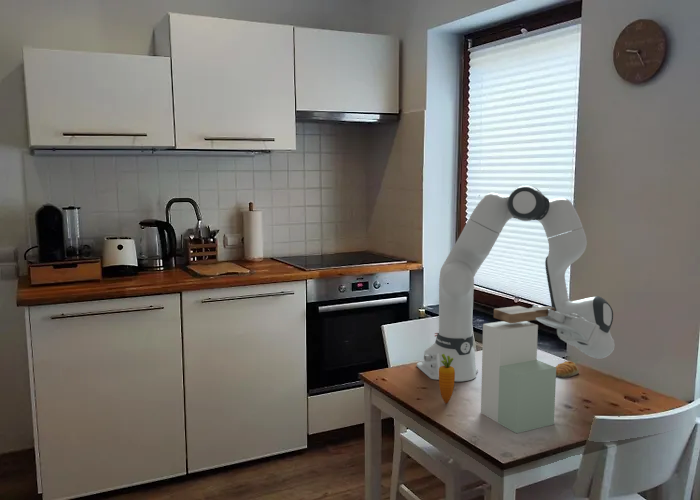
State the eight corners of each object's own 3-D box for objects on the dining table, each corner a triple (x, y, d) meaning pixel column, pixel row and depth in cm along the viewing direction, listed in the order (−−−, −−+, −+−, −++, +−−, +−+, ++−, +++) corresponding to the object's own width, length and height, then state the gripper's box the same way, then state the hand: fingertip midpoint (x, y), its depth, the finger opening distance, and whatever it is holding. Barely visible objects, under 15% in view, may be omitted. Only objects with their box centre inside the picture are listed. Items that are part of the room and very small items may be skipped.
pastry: (567, 380, 198) (567, 369, 198) (548, 375, 203) (548, 364, 202) (580, 373, 205) (580, 362, 204) (561, 369, 209) (561, 358, 209)
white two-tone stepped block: (480, 412, 171) (483, 324, 168) (516, 405, 176) (519, 319, 173) (516, 433, 157) (519, 337, 154) (553, 424, 163) (557, 331, 160)
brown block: (493, 317, 169) (493, 308, 168) (542, 311, 176) (542, 303, 176) (510, 323, 162) (510, 314, 162) (560, 316, 170) (560, 307, 170)
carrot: (457, 405, 176) (458, 356, 174) (442, 407, 175) (443, 358, 173) (450, 399, 181) (451, 351, 179) (434, 401, 179) (435, 353, 177)
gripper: (551, 311, 187) (522, 293, 181) (604, 327, 169) (574, 307, 163) (543, 330, 186) (513, 312, 181) (595, 347, 168) (564, 328, 162)
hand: (542, 310), depth 172 cm, fingers closed on brown block, 3 cm apart
